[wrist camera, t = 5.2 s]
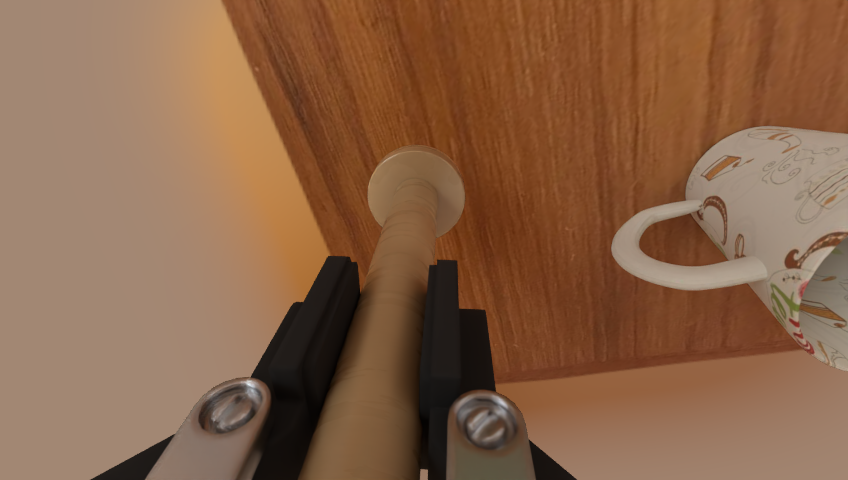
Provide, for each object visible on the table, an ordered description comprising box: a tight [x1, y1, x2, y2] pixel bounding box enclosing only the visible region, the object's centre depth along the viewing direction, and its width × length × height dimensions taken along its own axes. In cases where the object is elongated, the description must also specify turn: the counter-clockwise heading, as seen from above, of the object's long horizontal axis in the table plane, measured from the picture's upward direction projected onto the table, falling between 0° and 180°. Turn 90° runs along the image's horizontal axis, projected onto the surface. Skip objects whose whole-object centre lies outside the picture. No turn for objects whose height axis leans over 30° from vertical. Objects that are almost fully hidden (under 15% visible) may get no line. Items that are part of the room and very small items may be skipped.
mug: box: [611, 126, 848, 371], centre depth 17 cm, size 8×12×10 cm, turn 109°
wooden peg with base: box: [298, 145, 465, 480], centre depth 12 cm, size 4×4×14 cm
